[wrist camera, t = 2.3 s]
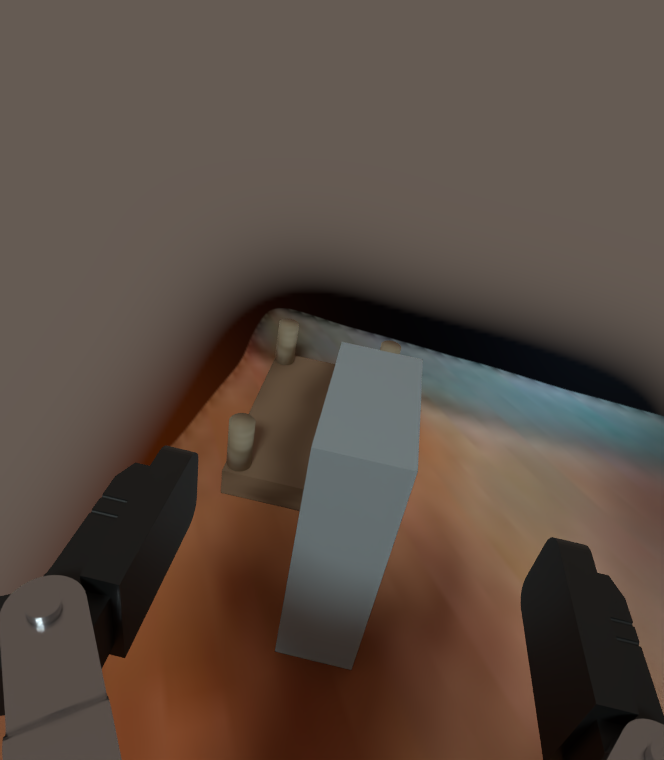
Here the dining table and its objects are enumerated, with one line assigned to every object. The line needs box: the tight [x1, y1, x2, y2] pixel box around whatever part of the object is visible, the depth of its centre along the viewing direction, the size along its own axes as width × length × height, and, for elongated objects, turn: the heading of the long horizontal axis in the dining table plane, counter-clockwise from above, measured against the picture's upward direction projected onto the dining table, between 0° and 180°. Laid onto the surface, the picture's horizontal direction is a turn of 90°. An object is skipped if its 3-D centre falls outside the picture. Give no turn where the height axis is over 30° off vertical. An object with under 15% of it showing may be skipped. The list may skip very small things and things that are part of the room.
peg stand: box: [221, 319, 401, 511], centre depth 41 cm, size 10×15×6 cm, turn 171°
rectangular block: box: [275, 342, 423, 670], centre depth 28 cm, size 4×8×14 cm, turn 171°
